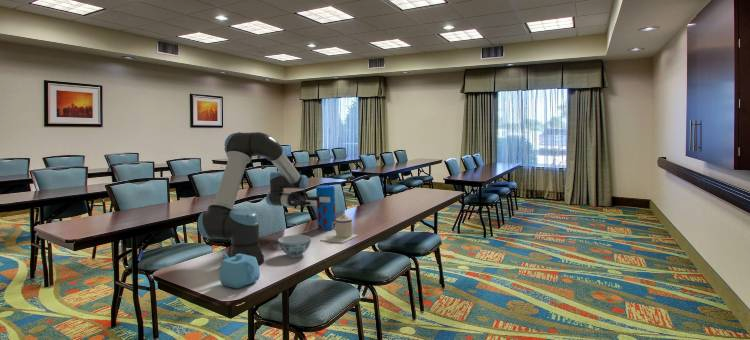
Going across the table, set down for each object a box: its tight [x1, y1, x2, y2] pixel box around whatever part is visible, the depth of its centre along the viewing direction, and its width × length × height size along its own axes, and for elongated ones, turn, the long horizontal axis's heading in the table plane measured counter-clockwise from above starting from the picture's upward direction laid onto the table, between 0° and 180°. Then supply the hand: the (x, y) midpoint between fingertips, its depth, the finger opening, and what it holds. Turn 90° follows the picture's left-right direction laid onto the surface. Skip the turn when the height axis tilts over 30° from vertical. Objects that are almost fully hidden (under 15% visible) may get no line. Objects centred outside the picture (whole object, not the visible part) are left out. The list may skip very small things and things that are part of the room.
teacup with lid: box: [332, 214, 353, 238], centre depth 224 cm, size 12×9×12 cm
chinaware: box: [277, 234, 312, 258], centre depth 191 cm, size 15×15×8 cm
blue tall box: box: [315, 184, 337, 231], centre depth 244 cm, size 11×11×25 cm
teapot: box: [219, 252, 261, 289], centre depth 157 cm, size 12×18×12 cm
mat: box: [319, 232, 359, 244], centre depth 221 cm, size 16×14×1 cm
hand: (323, 201), depth 224 cm, fingers open, 13 cm apart
